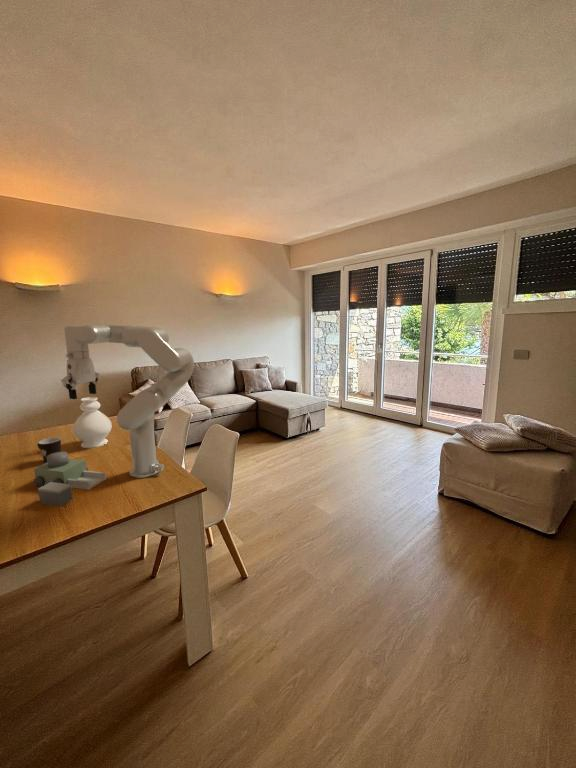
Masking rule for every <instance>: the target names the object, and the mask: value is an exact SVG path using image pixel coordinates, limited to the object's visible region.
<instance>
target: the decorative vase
mask: <svg viewBox="0 0 576 768" xmlns="http://www.w3.org/2000/svg"><path fill="white" fill-rule="evenodd" d="M80 402H82V403H80V404H79V409H80V411H83V412H82V413H81V414H80V415H79V416H78V418H77V419H76V420H75V422H74V423H73V427H72V432H73V435H74V436H75V437H77V438H78V439H79V440H80V441H81V442H82V443H81V444H80V447H81V448H83V449H92V448H94V449H95V448H99V447H102V446H104V444H105V445H106V444H108V443H107V442H109V440H108V439H107V438H106V437H108V435H109V433H110V432H111V430H112V428H113V427H112V425H113V424H112V421H111V420H110V418H109V417H108V416H107V415H106V414H104V413H103V412H102V411H100V410H99V409H100V408H101V403H100V402H99V401H98V397H97V396H88V397H82V398H80Z"/></svg>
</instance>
